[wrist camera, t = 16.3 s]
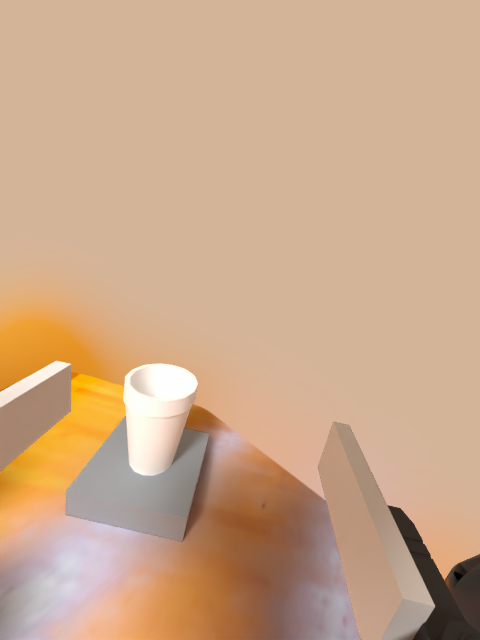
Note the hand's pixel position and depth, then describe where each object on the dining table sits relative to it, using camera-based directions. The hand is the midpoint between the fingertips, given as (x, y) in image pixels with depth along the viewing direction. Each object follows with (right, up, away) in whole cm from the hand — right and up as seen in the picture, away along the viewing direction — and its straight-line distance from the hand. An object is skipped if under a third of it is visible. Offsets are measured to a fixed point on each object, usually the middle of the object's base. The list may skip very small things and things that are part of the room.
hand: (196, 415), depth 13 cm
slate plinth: (-12, -19, +27) cm, 35 cm away
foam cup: (-11, -16, +26) cm, 32 cm away
